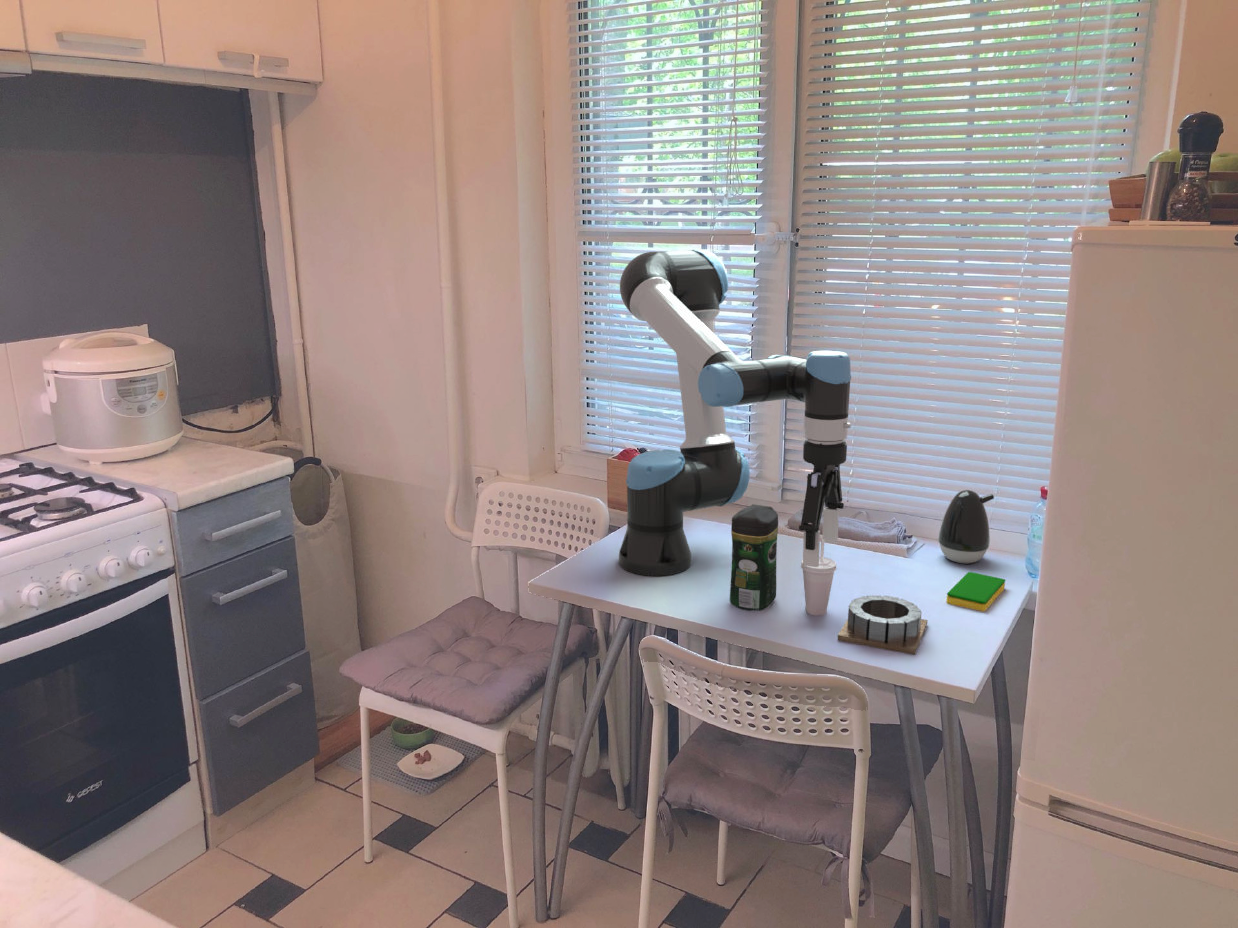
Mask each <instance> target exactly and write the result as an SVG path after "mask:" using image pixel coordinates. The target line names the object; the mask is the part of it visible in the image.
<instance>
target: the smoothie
mask: <svg viewBox="0 0 1238 928" xmlns="http://www.w3.org/2000/svg"><path fill="white" fill-rule="evenodd" d="M824 554H825V542H824V539H822V538H820V554H819V566H818V567H812V566H805V565H803V559H802V560H801V562H800V563H801V564H800V568H801V569H802V579H803V590H804V602H805V611H806V613H807V614H809V615H810V616H811V615H812V616H824V615H826V614H827V610H828V606H829V601H830V596H831V589H832V585H833V580H834V575H835V572H836V570H837V562H836V561H835V560H833V559H832V558H828V557H825V555H824Z"/></svg>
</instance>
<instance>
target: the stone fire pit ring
mask: <svg viewBox="0 0 1238 928" xmlns="http://www.w3.org/2000/svg"><path fill="white" fill-rule="evenodd" d="M847 610H848V613H847V619H846V621H845V623H844V624H843V626H842V627H841V629H840V630H839V633H838V634H837V641H839V642H845V643H850V644H855V645H861V646H866V647H870V648H875V649H882V650H887V651H893V652H898V653H902V652H903V654H908V655H914V656H915V655H916V653H917V651H918V648H919V646H920V644H921V641H922V639H923V636H924V634H925V632H926V629H927V626H928V621H929V620H928V619H923V618H922V610H921V608H920V607H918V606H917V604H914V603H913V602H911V601H910V600H909V601H908V600H906V599H903V598H899V597H895V596H889V595H883V596H882V595H881V594H878V595H877V594H875V595H866V596H859V597H858V598H857V597H856V598H854V599H853V600H851V602H850V603H849V605H848V609H847Z"/></svg>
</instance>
